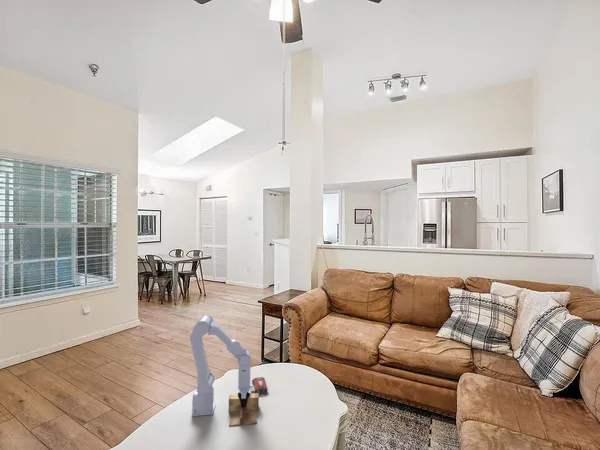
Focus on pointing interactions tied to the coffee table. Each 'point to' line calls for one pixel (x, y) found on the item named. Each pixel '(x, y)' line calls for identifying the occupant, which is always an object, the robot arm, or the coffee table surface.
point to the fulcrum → (243, 418)
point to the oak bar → (236, 405)
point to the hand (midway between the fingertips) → (243, 404)
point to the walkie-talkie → (259, 386)
